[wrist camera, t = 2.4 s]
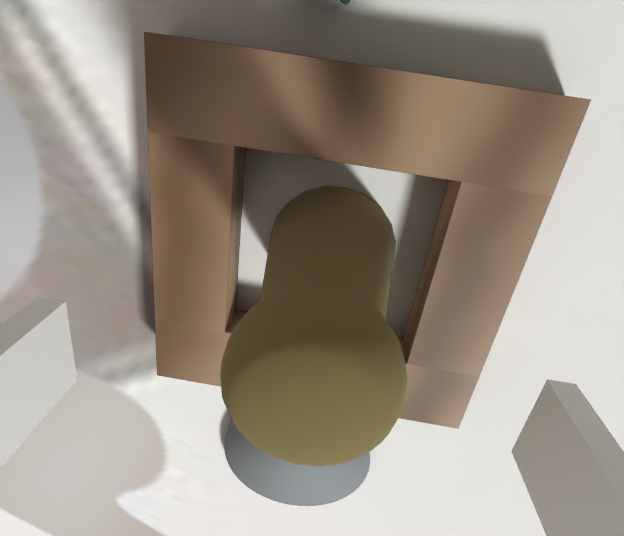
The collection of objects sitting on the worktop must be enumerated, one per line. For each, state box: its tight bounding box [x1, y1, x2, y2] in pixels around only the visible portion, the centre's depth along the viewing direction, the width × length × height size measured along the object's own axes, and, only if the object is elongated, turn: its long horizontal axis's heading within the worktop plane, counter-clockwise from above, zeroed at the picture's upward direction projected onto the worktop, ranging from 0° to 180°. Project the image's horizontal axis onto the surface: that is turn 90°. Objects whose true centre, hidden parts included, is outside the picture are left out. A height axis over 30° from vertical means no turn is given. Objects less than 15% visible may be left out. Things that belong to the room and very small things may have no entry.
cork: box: [220, 186, 408, 467], centre depth 15 cm, size 6×6×11 cm
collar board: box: [144, 32, 591, 428], centre depth 19 cm, size 16×16×2 cm
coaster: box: [225, 421, 370, 506], centre depth 26 cm, size 9×9×1 cm
